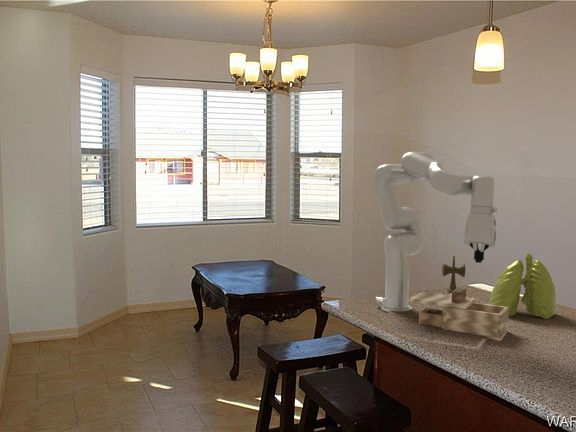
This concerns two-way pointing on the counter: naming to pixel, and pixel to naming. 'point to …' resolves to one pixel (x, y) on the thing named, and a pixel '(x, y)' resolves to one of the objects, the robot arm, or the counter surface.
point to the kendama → (453, 273)
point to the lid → (445, 299)
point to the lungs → (536, 286)
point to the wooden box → (470, 319)
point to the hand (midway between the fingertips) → (478, 262)
